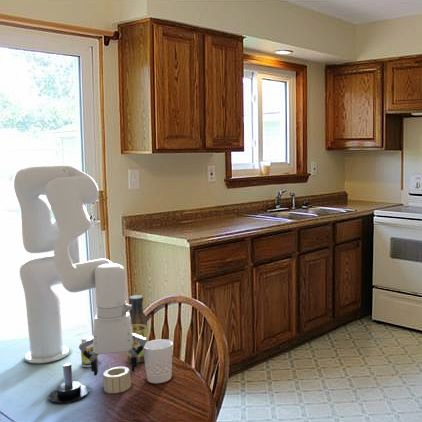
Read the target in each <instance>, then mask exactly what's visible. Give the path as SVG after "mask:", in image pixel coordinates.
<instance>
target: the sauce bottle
mask: <svg viewBox="0 0 422 422" xmlns="http://www.w3.org/2000/svg"><path fill="white" fill-rule="evenodd" d="M128 302H129V305H132V310H129V313H130V317H131V322H132V330H133V333H134V334H136V335H139V336H141V337H144V338H146V339H147V342H148V341H149V338H148V337H149V334H148V317H147V316H146V314H145V312H144V308H143V307H144V306H143V302H144V296H143V295H142V294H134V295H130V296H129V298H128ZM139 345H140V342H138V341H135V340H133V346H134V347H135V348H137V347H138V346H139ZM126 356H127V362H129V363H131V354H130V353H129V352H128V351H127V352H126ZM143 362H145V361H144V351H143V350H142V351H141V352H140V353H139V354H138V355H137V364H138V363H143Z"/></svg>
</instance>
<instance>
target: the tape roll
mask: <svg viewBox="0 0 422 422" xmlns="http://www.w3.org/2000/svg"><path fill="white" fill-rule="evenodd" d="M102 378H103V379H102V381H103V390H104V392H105V393H107V394H120V393H124V392H125V391H128V390H129V389H130V388H131V385H132V384H131V370H130V368H129V367H127V366H113V367H111V368H108V369H106V370H104V371H103V373H102Z"/></svg>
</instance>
